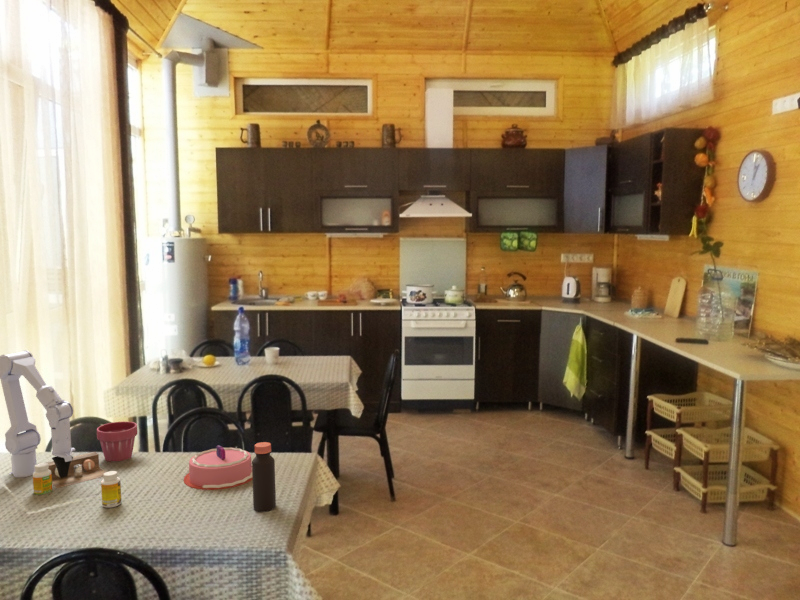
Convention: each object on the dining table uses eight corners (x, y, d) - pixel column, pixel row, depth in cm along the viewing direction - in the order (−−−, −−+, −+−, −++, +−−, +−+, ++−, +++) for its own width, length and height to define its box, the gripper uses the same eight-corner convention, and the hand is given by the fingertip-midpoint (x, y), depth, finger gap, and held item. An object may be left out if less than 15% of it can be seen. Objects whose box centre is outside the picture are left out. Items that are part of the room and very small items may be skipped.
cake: (268, 479, 219) (267, 449, 218) (196, 496, 205) (194, 464, 204) (242, 459, 239) (241, 432, 238) (174, 473, 225) (173, 444, 224)
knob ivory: (49, 472, 224) (49, 462, 224) (60, 469, 226) (60, 460, 226) (56, 478, 218) (56, 468, 217) (68, 476, 220) (67, 466, 220)
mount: (43, 477, 222) (42, 462, 221) (94, 465, 234) (93, 451, 233) (57, 490, 210) (55, 474, 210) (110, 477, 222) (109, 461, 221)
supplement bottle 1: (44, 497, 205) (42, 468, 204) (29, 496, 206) (27, 467, 205) (56, 491, 210) (54, 462, 209) (42, 489, 211) (40, 461, 210)
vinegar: (256, 514, 190) (254, 449, 189) (251, 505, 196) (248, 443, 195) (278, 509, 194) (276, 445, 192) (272, 501, 200) (270, 439, 198)
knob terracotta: (76, 465, 230) (76, 456, 230) (87, 463, 233) (86, 453, 232) (84, 471, 224) (83, 462, 224) (95, 469, 226) (94, 459, 226)
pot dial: (73, 476, 220) (72, 465, 220) (81, 474, 222) (80, 463, 222) (75, 478, 219) (74, 466, 218) (83, 476, 220) (83, 465, 220)
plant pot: (138, 462, 237) (137, 429, 235) (97, 468, 231) (95, 433, 230) (138, 451, 250) (137, 419, 249) (99, 456, 244) (97, 423, 243)
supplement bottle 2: (122, 506, 197) (120, 474, 196) (102, 509, 195) (100, 477, 194) (121, 499, 202) (119, 468, 201) (102, 503, 200) (100, 471, 199)
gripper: (80, 440, 214) (82, 479, 215) (67, 431, 225) (69, 468, 226) (57, 445, 209) (60, 484, 210) (45, 435, 220) (47, 473, 221)
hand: (63, 476), depth 218 cm, fingers closed
